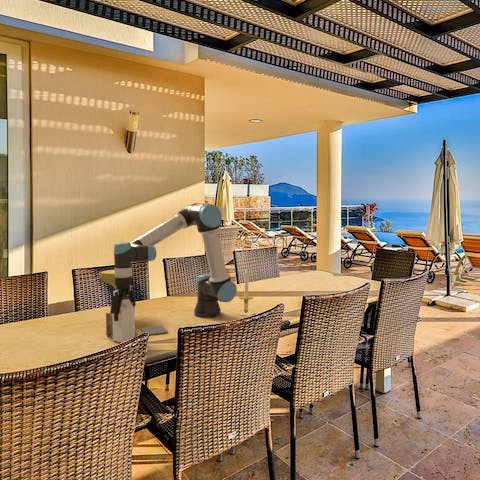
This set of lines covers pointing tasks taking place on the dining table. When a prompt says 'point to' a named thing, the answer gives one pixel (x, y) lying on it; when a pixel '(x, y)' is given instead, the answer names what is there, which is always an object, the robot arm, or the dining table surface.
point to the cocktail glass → (109, 276)
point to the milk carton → (125, 322)
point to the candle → (246, 293)
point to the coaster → (154, 330)
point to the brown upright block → (109, 324)
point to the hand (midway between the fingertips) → (123, 324)
